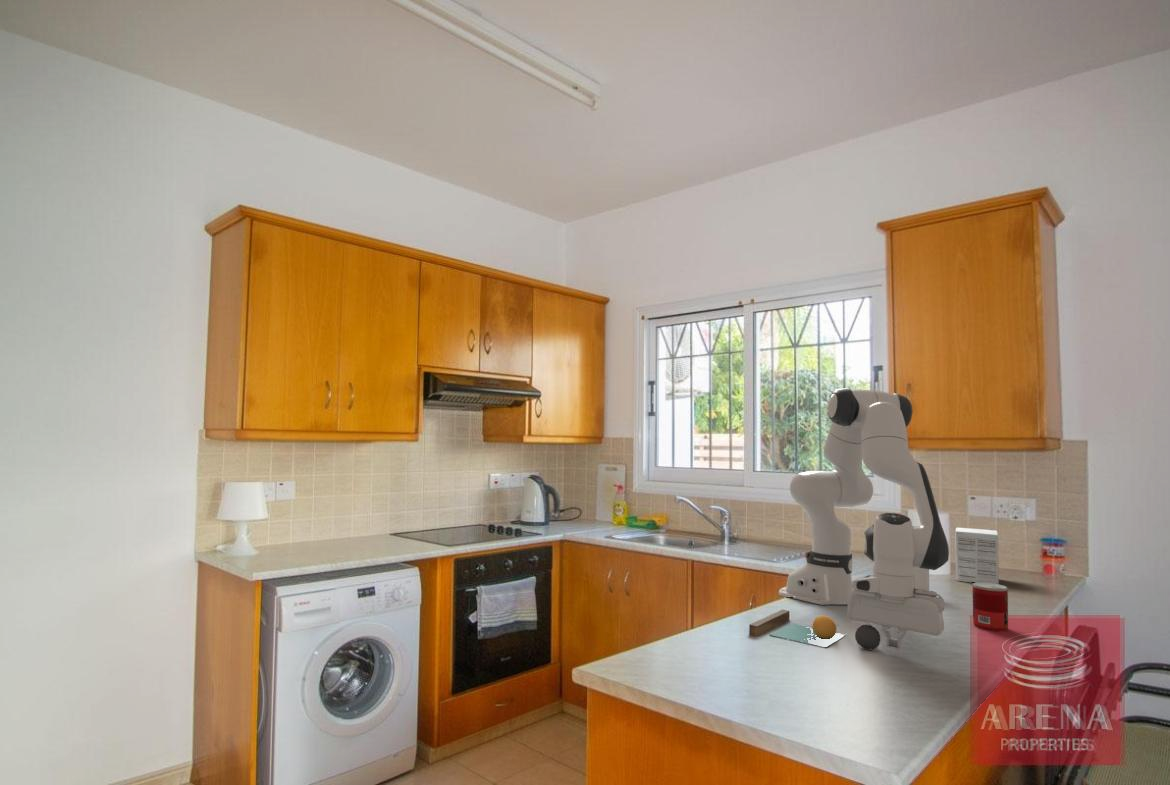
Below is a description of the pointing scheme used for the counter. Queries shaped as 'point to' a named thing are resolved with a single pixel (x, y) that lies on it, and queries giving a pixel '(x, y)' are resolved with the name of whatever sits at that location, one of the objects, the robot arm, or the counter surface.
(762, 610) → the counter surface
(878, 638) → the dark grey ball
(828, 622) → the orange ball
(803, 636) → the teal mark
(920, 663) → the counter surface
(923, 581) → the pill bottle
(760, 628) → the bar
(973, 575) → the supplement box
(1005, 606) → the canned food
